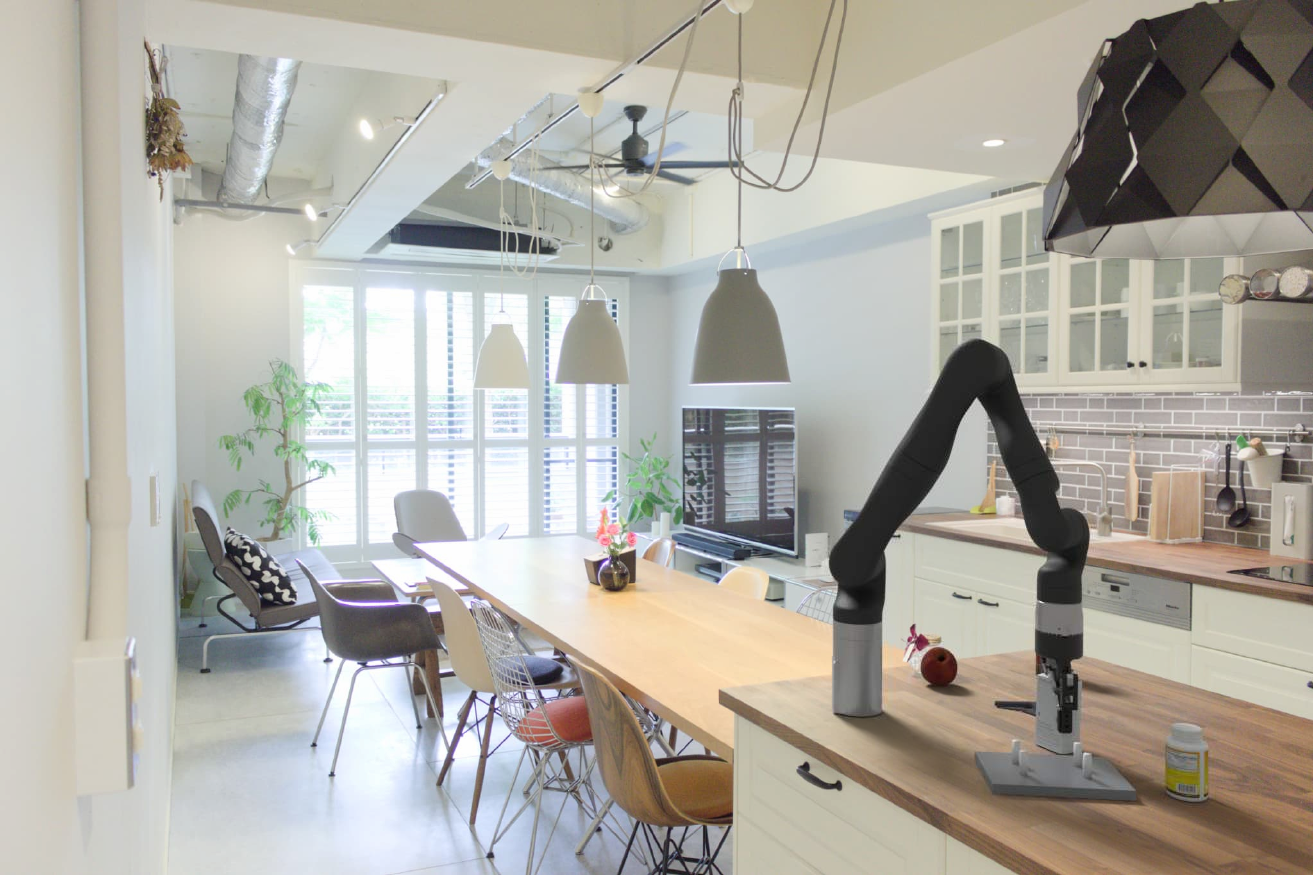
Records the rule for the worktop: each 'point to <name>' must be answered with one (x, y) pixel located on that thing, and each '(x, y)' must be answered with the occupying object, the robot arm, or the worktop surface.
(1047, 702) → the skincare box
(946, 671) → the apple
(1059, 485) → the robot arm
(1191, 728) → the supplement bottle
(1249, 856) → the worktop surface
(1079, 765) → the pin tray
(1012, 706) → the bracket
